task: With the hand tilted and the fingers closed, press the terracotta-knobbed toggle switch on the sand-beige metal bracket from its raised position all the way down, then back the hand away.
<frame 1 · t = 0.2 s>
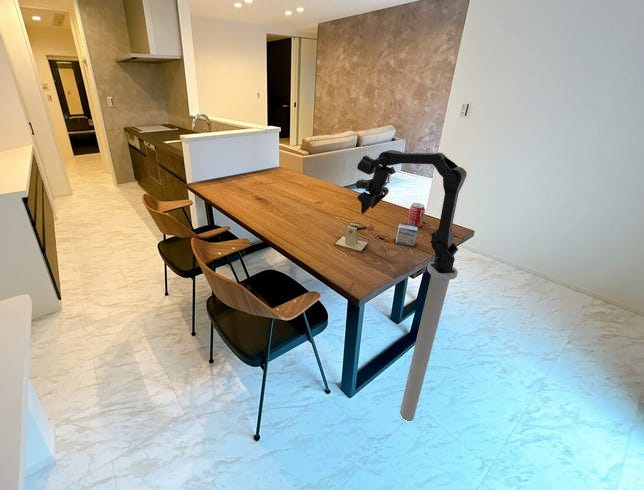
hand: (367, 210, 133), 16 cm above the table, tool pointing down, fingers open, 9 cm apart
soda can: (413, 226, 154), on the table
switch lever: (361, 228, 130), point 10 cm above the table, hinge at 22.0°
medicine box: (404, 244, 137), on the table
switch bracket: (351, 245, 136), on the table
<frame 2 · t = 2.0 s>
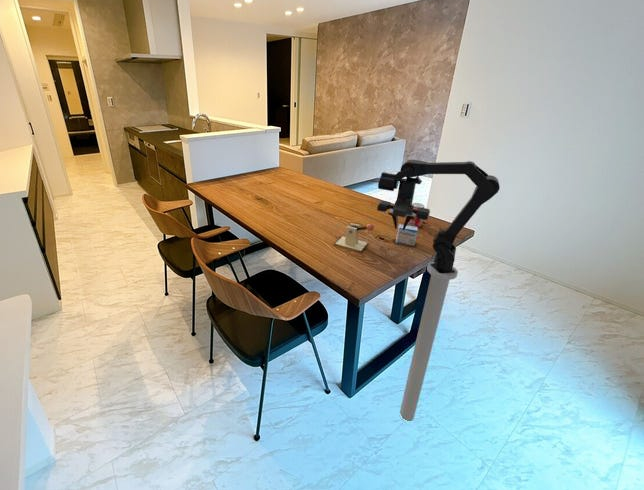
hand: (399, 229, 121), 13 cm above the table, tool pointing down, fingers open, 3 cm apart
nothing on the table moved.
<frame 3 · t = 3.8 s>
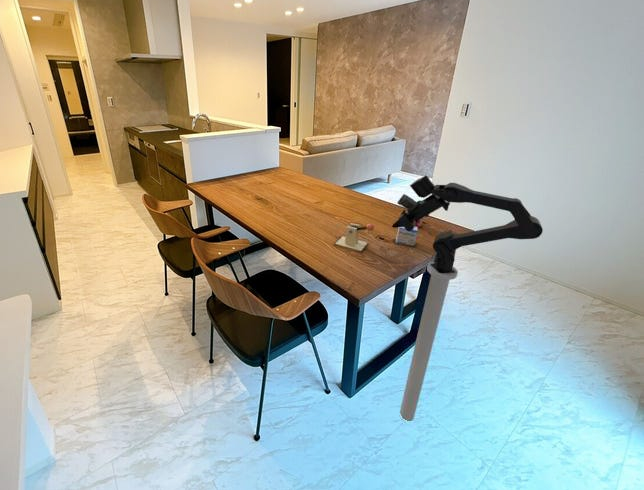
hand: (392, 226, 122), 13 cm above the table, tool tilted 45°, fingers closed
nothing on the table moved.
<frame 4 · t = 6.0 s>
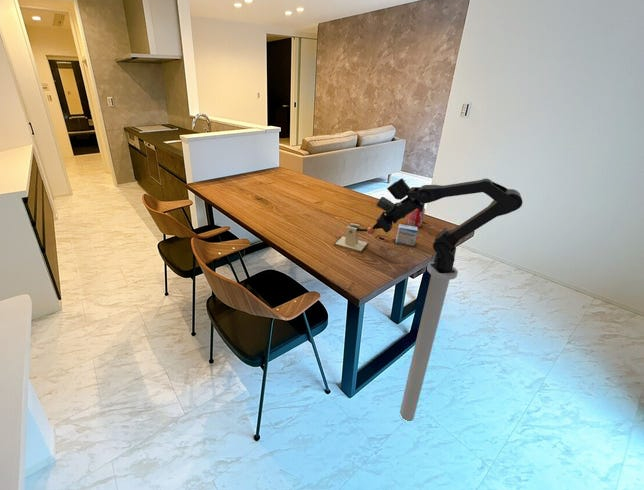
hand: (373, 228, 127), 11 cm above the table, tool tilted 45°, fingers closed, pressing on switch lever
switch lever: (361, 229, 130), point 9 cm above the table, hinge at 11.5°, touching gripper
everything else where it was.
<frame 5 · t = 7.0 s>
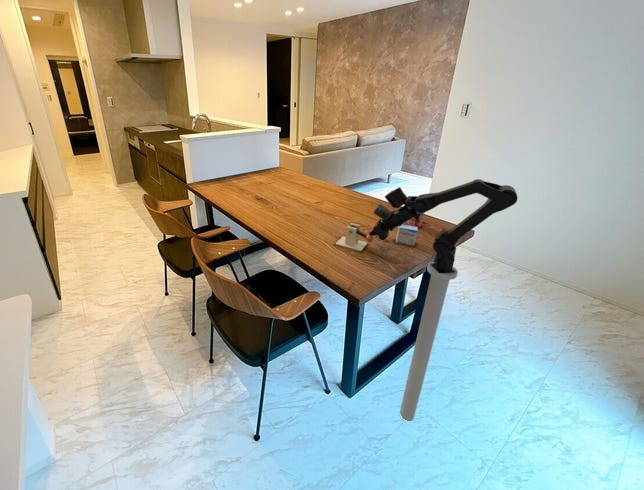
hand: (369, 234, 129), 8 cm above the table, tool tilted 45°, fingers closed, pressing on switch lever
switch lever: (361, 234, 131), point 7 cm above the table, hinge at -16.8°, touching gripper
everything else where it was.
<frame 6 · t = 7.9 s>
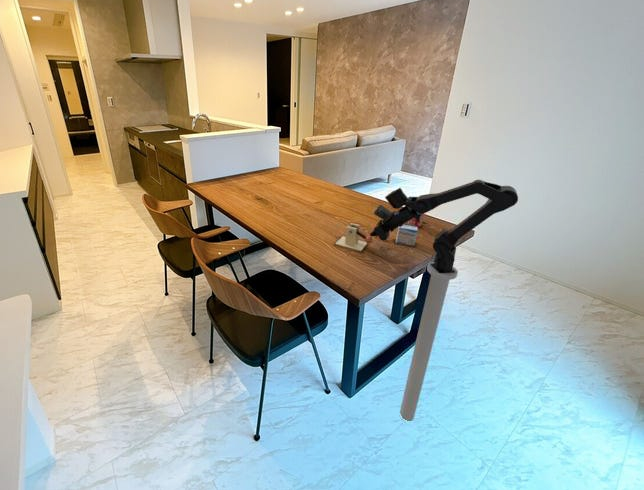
hand: (370, 235, 129), 7 cm above the table, tool tilted 45°, fingers closed
switch lever: (360, 234, 131), point 6 cm above the table, hinge at -22.3°
everything else where it was.
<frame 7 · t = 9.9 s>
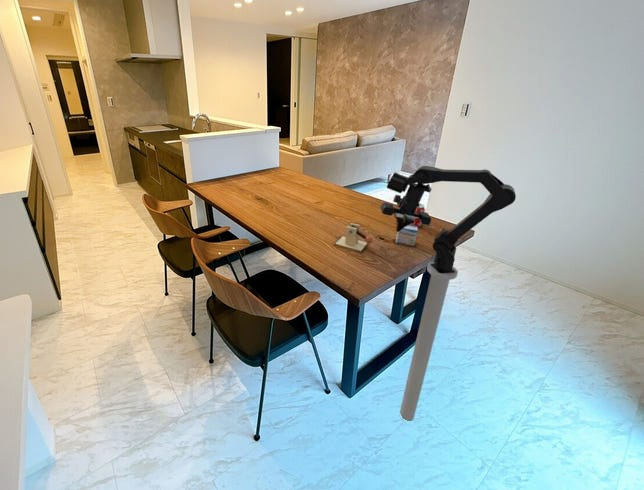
hand: (397, 231, 122), 12 cm above the table, tool pointing down, fingers closed
nothing on the table moved.
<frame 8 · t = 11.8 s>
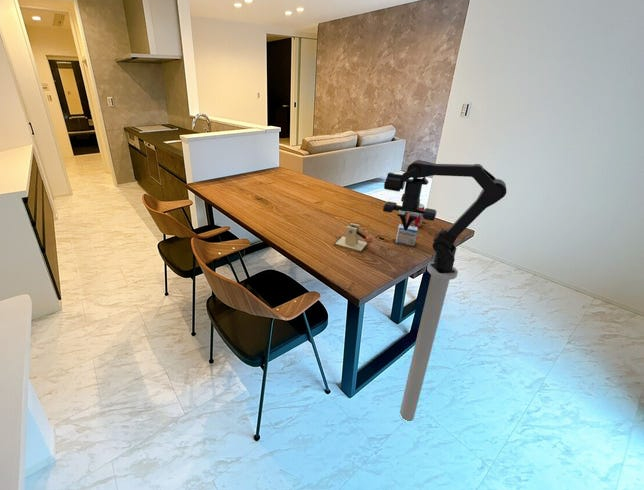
hand: (405, 230, 120), 13 cm above the table, tool pointing down, fingers closed
nothing on the table moved.
at the end: switch lever at -22° (first picture: +22°); soda can moved 0.0 cm from its start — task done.
